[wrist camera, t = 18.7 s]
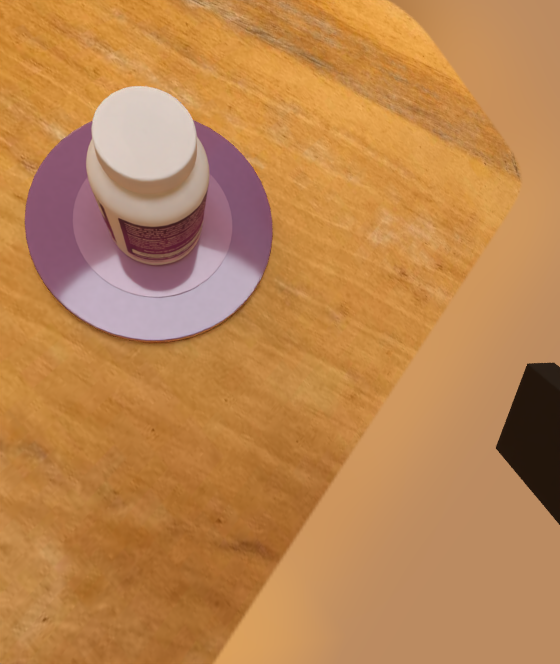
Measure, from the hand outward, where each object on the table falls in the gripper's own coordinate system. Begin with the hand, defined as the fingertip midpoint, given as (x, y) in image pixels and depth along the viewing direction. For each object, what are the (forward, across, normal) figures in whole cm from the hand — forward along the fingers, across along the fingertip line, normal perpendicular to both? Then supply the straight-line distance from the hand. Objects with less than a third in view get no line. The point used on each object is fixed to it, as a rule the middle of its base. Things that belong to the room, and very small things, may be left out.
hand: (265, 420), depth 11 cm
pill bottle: (+20, -3, -1) cm, 20 cm away
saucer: (+20, -3, -2) cm, 21 cm away
